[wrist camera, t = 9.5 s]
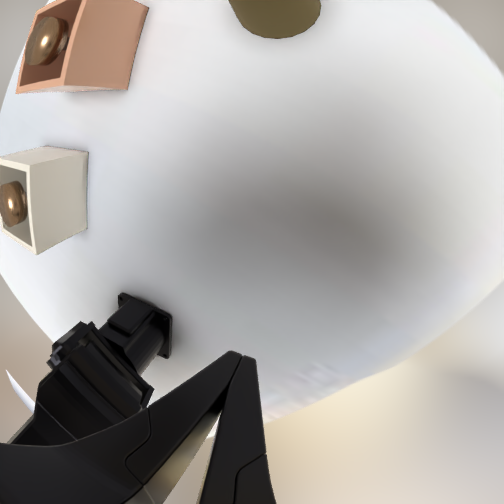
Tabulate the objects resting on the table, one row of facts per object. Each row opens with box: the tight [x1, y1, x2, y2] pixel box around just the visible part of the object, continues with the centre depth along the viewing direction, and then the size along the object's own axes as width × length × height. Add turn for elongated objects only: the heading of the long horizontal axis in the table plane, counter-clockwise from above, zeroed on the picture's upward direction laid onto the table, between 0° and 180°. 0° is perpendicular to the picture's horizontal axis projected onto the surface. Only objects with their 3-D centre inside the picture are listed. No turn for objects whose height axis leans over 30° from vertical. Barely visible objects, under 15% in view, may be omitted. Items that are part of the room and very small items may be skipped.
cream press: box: [0, 146, 88, 255], centre depth 21 cm, size 8×8×7 cm
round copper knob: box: [0, 180, 28, 227], centre depth 20 cm, size 6×6×7 cm
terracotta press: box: [16, 0, 149, 94], centre depth 14 cm, size 8×8×7 cm
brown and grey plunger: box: [25, 17, 70, 66], centre depth 13 cm, size 6×6×7 cm
